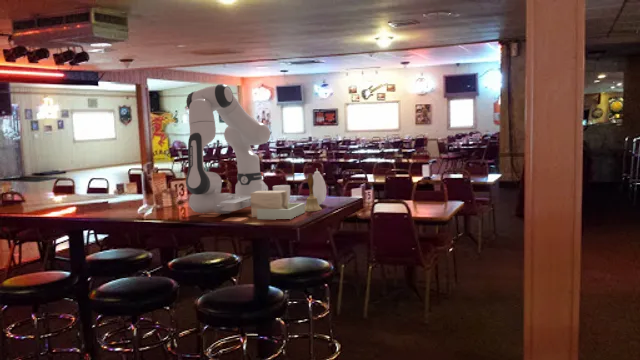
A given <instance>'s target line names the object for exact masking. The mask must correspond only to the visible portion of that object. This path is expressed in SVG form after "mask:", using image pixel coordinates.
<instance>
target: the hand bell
mask: <svg viewBox="0 0 640 360" xmlns="http://www.w3.org/2000/svg"><path fill="white" fill-rule="evenodd" d="M312 174H313V173H308V176H307V185H308V188H309V190H308V191H309V192H310V193H308V194H309V196H308V197H307V198H306V203H305V212H319V211H322V209H323V208H322V207H321V205H318V202H317V198H316V197H315V196H314V194H313V184H314V180H313V175H312Z"/></svg>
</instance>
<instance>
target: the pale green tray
mask: <svg viewBox="0 0 640 360" xmlns="http://www.w3.org/2000/svg"><path fill="white" fill-rule="evenodd" d="M305 206H306V203H305V202H290V203H288V209H257V217H256V219H257V220H276V219H290V220H292V219H294V217H295V218H296V216H297V217H299V216H302V214H305V213H306V211H305Z"/></svg>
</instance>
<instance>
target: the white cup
mask: <svg viewBox="0 0 640 360" xmlns="http://www.w3.org/2000/svg"><path fill="white" fill-rule="evenodd" d="M272 191H287V200H288V203H291V185H290V184H280V185H279V184H278V185H273V186H272Z"/></svg>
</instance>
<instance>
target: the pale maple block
mask: <svg viewBox="0 0 640 360" xmlns="http://www.w3.org/2000/svg"><path fill="white" fill-rule="evenodd" d="M250 207H251V208H250V209H251V218H257V209H288V200H287V191H273V190H268V191H256V192H253V193H251V206H250Z"/></svg>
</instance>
